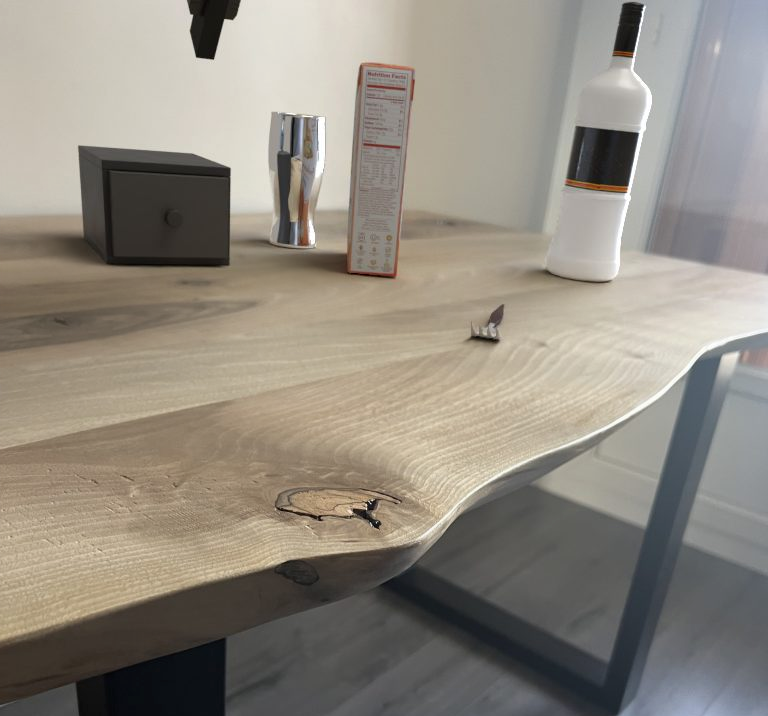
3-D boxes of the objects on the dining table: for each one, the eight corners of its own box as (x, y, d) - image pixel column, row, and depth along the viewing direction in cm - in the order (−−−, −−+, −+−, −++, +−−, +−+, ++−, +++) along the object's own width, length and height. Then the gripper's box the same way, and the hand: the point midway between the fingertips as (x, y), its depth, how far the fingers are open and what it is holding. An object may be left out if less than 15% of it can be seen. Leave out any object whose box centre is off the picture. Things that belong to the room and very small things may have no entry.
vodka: (534, 273, 103) (583, -7, 89) (554, 264, 110) (603, 6, 97) (606, 286, 99) (669, -2, 86) (622, 276, 107) (682, 10, 93)
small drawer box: (229, 265, 88) (230, 167, 84) (106, 263, 83) (101, 159, 78) (193, 240, 100) (193, 153, 95) (83, 237, 94) (77, 145, 90)
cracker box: (343, 252, 103) (357, 63, 93) (391, 256, 103) (409, 69, 94) (343, 274, 90) (358, 58, 81) (397, 278, 91) (419, 65, 81)
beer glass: (315, 241, 108) (323, 116, 101) (323, 250, 102) (332, 118, 95) (263, 237, 106) (266, 110, 100) (267, 247, 100) (272, 112, 94)
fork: (515, 311, 81) (519, 291, 81) (496, 350, 67) (500, 326, 67) (490, 308, 82) (493, 287, 81) (465, 345, 68) (468, 321, 67)
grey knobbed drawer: (231, 260, 86) (232, 180, 82) (117, 259, 81) (113, 173, 77) (194, 235, 97) (193, 164, 94) (92, 232, 92) (87, 157, 89)
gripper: (178, -283, 42) (127, 73, 63) (399, -215, 48) (287, 91, 69) (152, -381, 44) (111, -4, 65) (368, -305, 50) (268, 20, 70)
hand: (201, 45), depth 67 cm, fingers closed
